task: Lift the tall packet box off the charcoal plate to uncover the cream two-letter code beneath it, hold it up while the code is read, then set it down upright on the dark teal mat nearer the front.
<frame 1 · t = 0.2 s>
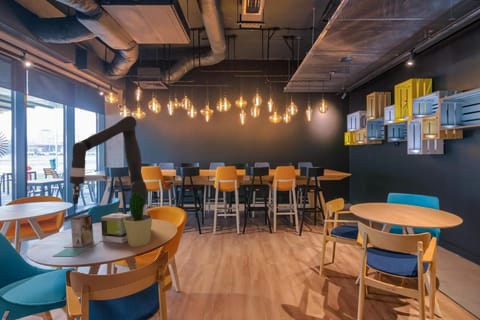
hand: (75, 202, 159), 23 cm above the table, tool pointing down, fingers open, 8 cm apart
code plate: (83, 244, 153), on the table
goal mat: (70, 252, 141), on the table
tea box: (118, 240, 159), on the table
potted cactus: (139, 243, 153), on the table
coffee box: (83, 243, 153), resting on code plate
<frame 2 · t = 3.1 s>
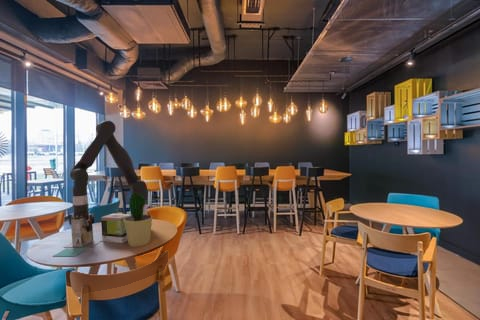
hand: (82, 231, 153), 7 cm above the table, tool pointing down, fingers closed on coffee box, 7 cm apart
coffee box: (83, 243, 153), resting on code plate, touching gripper
everything else where it was.
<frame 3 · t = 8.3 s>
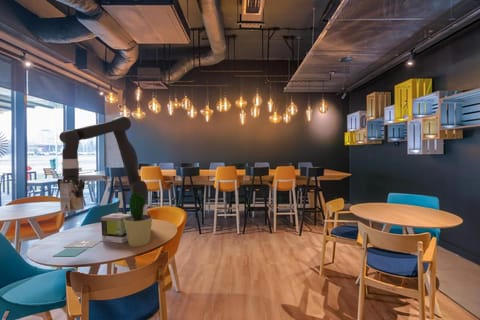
hand: (71, 197, 145), 29 cm above the table, tool pointing down, fingers closed on coffee box, 7 cm apart
coffee box: (72, 210, 145), point 21 cm above the table, touching gripper
everything else where it was.
when the fingers open (9 cm above the table, at t = 13.3 s): coffee box drops 1 cm, resting on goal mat.
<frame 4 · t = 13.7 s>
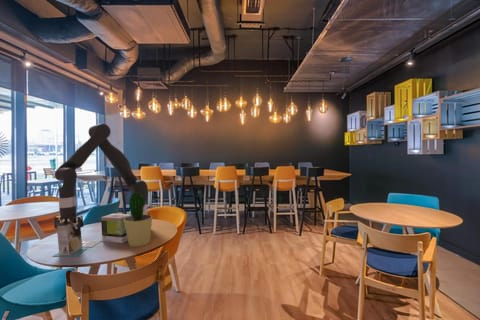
hand: (69, 235, 141), 9 cm above the table, tool pointing down, fingers open, 8 cm apart
coffee box: (71, 252, 141), resting on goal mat
everything else where it was.
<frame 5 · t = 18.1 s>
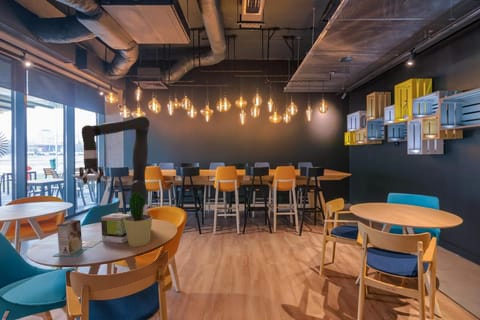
hand: (92, 183, 166), 33 cm above the table, tool pointing down, fingers open, 8 cm apart
nothing on the table moved.
at the end: coffee box inside the target area on the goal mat (0.1 cm from its centre), point 0.1 cm above the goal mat's base; coffee box tilted 0°; the gripper is holding nothing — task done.
